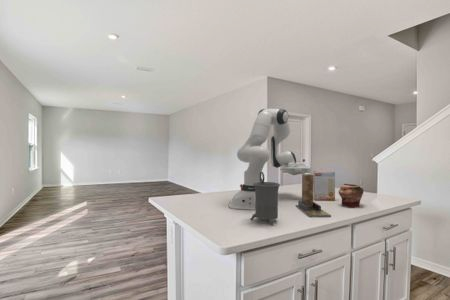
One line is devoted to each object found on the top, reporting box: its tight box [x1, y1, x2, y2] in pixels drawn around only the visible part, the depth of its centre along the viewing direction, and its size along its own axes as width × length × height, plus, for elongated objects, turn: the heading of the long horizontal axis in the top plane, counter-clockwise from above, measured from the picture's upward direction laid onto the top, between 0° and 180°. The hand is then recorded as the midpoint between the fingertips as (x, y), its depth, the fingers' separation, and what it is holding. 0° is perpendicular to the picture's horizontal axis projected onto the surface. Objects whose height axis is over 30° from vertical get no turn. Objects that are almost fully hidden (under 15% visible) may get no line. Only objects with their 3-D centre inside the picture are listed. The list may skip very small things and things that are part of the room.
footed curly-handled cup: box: [250, 171, 281, 227], centre depth 129 cm, size 19×15×25 cm
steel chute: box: [295, 199, 332, 218], centre depth 148 cm, size 12×25×4 cm, turn 1°
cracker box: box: [312, 170, 336, 202], centre depth 181 cm, size 14×6×21 cm, turn 84°
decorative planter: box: [338, 183, 364, 208], centre depth 163 cm, size 20×12×14 cm, turn 116°
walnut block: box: [301, 173, 314, 208], centre depth 155 cm, size 5×6×20 cm
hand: (299, 170), depth 171 cm, fingers closed
